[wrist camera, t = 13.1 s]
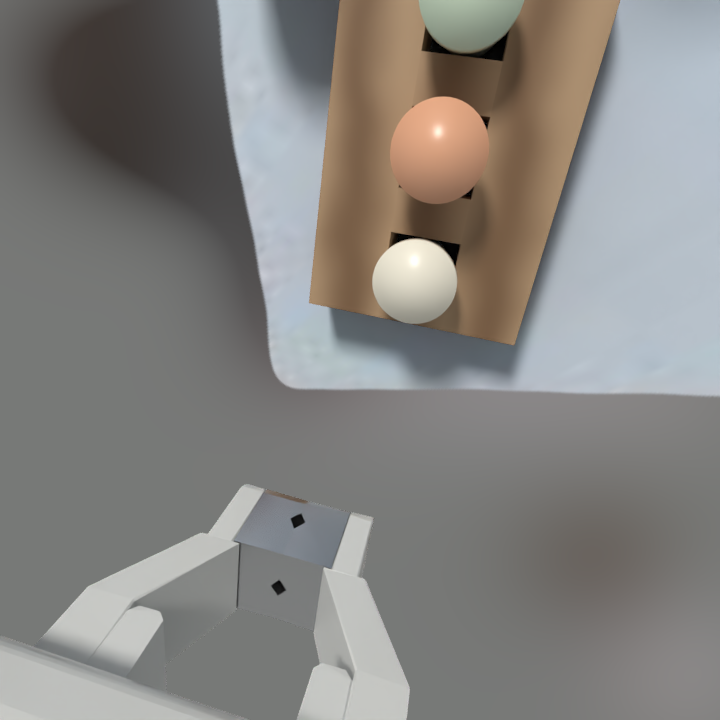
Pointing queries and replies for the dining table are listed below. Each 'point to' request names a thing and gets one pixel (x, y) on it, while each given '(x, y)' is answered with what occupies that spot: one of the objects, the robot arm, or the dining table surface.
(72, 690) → the robot arm
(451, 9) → the sage plunger
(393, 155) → the peach mushroom knob
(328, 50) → the dining table surface
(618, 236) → the dining table surface
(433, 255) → the cream plunger
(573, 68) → the walnut board
